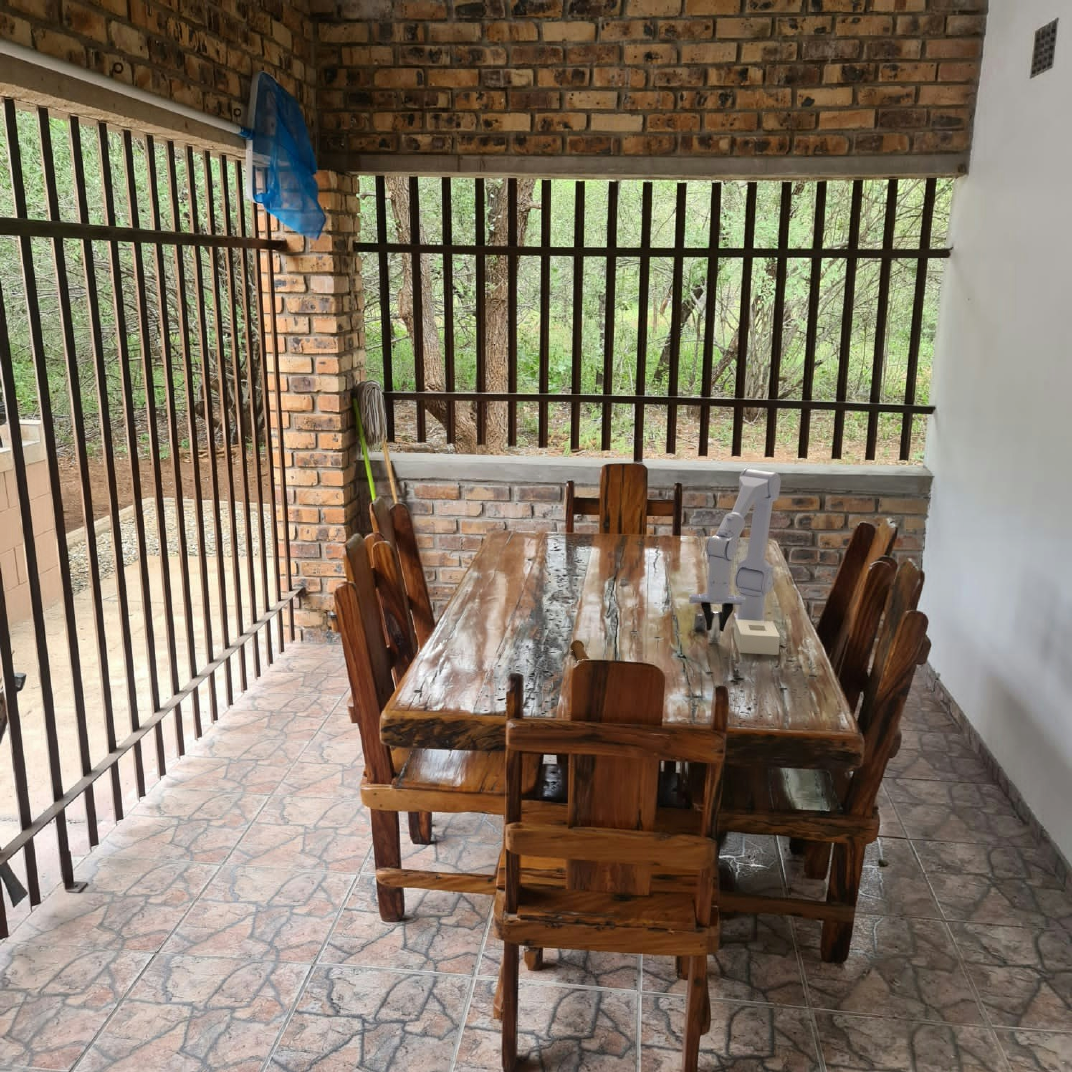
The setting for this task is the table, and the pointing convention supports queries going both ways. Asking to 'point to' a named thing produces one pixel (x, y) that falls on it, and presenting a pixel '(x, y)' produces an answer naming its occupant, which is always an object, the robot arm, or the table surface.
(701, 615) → the short pin
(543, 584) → the table surface
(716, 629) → the long pin
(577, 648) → the primitive tool
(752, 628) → the hole block
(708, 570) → the robot arm
